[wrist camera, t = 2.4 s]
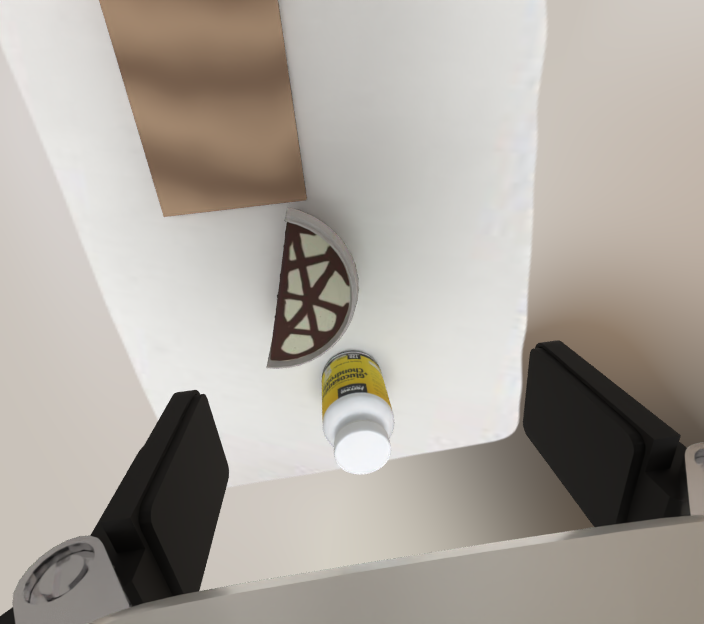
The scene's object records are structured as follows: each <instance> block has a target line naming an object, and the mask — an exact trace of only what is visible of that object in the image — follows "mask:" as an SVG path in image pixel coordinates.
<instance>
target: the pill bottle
mask: <svg viewBox="0 0 704 624" xmlns="http://www.w3.org/2000/svg"><path fill="white" fill-rule="evenodd" d="M322 418H323V431H324V435H325V437H326V439H327V441H328V442H329V443H330V444H331V445H332V446H333V447H334V455H335V460H336V462H337V464H338V465H339V466H340V467H341V468H342V469H343V470H345V471H347V472H350V473H353V474H367V473H371V472H374V471H376V470H378V469H380V468H381V467H382V466H384V464H385V463H386V462H387V461H388V459H389V457H390V453H391V445H390V441H389V438H390V436H391V435H392V432H393V429H394V416H393V412H392V408H391V405H390V401H389V398H388V394H387V391H386V387H385V384H384V380H383V377H382V373H381V370H380V367H379V366H378V364H377V363H376V361H375V360H374V359H373V358H371V357H370V356H368V355H366V354H364V353H361V352H345V353H342V354H339V355H337V356H335V357H334V358H333V359H331V360H330V361H329V362H328V364H327V365H326V367H325V368H324V371H323V374H322Z"/></svg>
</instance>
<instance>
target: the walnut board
mask: <svg viewBox="0 0 704 624" xmlns="http://www.w3.org/2000/svg"><path fill="white" fill-rule="evenodd" d="M99 2H100V5H101V8H102V12H103V15H104V18H105V22H106V25H107V28H108V32H109V35H110V38H111V42H112V45H113V48H114V52H115V55H116V58H117V62H118V65H119V69H120V72H121V75H122V79H123V82H124V85H125V89H126V92H127V95H128V99H129V102H130V105H131V109H132V112H133V115H134V119H135V122H136V125H137V129H138V132H139V135H140V139H141V142H142V145H143V149H144V152H145V155H146V159H147V162H148V166H149V169H150V172H151V176H152V179H153V182H154V186H155V189H156V192H157V196H158V199H159V202H160V206H161V209H162V212H163V216H164V217H167V216H175V215H184V214H193V213H201V212H210V211H218V210H227V209H235V208H244V207H252V206H261V205H269V204H278V203H286V202H295V201H303V200H306V199H307V197H306V190H305V183H304V176H303V169H302V162H301V155H300V148H299V142H298V135H297V128H296V121H295V114H294V107H293V100H292V93H291V87H290V80H289V73H288V66H287V59H286V52H285V45H284V38H283V32H282V25H281V18H280V11H279V4H278V0H99Z"/></svg>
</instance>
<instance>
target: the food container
mask: <svg viewBox="0 0 704 624" xmlns="http://www.w3.org/2000/svg"><path fill="white" fill-rule="evenodd" d="M285 222H287V225H286V231H285V243H284V251H283V259H282V267H281V274H280V284H279V291H278V295H277V298H278V299H277V308H276V315H275V322H274V329H273V337H272V343H271V348H270V353H269V358H268V363H267V368H274V369H279V368H290V367H294V366H299V365H302V364H305V363H307V362H310V361H312V360H314V359H316V358H318V357H319V356H321V355H322V354H324V353H325V352H326V351H328V350H329V349H330V348H332V347H333V346H334V345H335V344H336V343H337V342H338V341H339V340H340V338H341V337H342V336H343V334H344V333H345V331H346V330H347V328H348V326H349V324H350V322H351V320H352V317H353V314H354V311H355V307H356V304H357V299H358V291H359V287H358V275H357V270H356V266H355V263H354V261H353V258H352V256H351V253H350V252H349V250H348V248H347V247H346V245H345V243H344V242H343V241H342V240H341V238H340V237H339V236H338V235H337V234H336V233H335V232H334V231H333V230H332V229H331V228H330V227H329V226H327V225H326V224H325V223H323V222H322V221H320V220H319V219H317V218H315V217H314V216H312V215H310V214H307V213H305V212H303V211H300V210H296V209H293V208H289V207H288V208H287V212H286V217H285Z"/></svg>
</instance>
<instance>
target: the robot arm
mask: <svg viewBox="0 0 704 624" xmlns="http://www.w3.org/2000/svg"><path fill="white" fill-rule="evenodd" d="M523 427H524V430H525V432H526V435H527V436H528V438H529V439H530V440H531V442H532V443H533V444H534V446H535V447H536V448H537V450H538V451H539V452H540V454H541V455H542V456H543V458H544V459H545V461H546V462H547V463H548V465H549V466H550V467H551V469H552V470H553V471H554V473H555V474H556V476H557V477H558V478H559V480H560V481H561V482H562V484H563V485H564V486H565V488H566V489H567V490H568V492H569V493H570V495H571V496H572V497H573V499H574V500H575V501H576V503H577V504H578V505H579V507H580V508H581V509H582V511H583V512H584V514H585V515H586V516H587V518H588V519H589V520H590V522H591V523H592V524H593V526H594V527H593V528H587V529H580V530H574V531H568V532H561V533H554V534H547V535H541V536H534V537H528V538H521V539H514V540H508V541H502V542H495V543H488V544H482V545H476V546H469V547H463V548H457V549H450V550H444V551H438V552H431V553H425V554H419V555H413V556H406V557H400V558H394V559H387V560H381V561H375V562H368V563H362V564H356V565H350V566H344V567H338V568H332V569H326V570H320V571H314V572H308V573H301V574H296V575H290V576H284V577H277V578H271V579H266V580H259V581H253V582H248V583H242V584H237V585H231V586H226V587H220V588H215V589H209V590H204V591H199V590H200V586H201V582H202V578H203V574H204V571H205V567H206V563H207V559H208V555H209V552H210V548H211V544H212V540H213V536H214V532H215V528H216V524H217V521H218V517H219V513H220V509H221V505H222V502H223V498H224V494H225V490H226V486H227V482H228V478H229V467H228V463H227V460H226V457H225V454H224V450H223V447H222V444H221V441H220V438H219V434H218V431H217V428H216V425H215V422H214V419H213V415H212V412H211V409H210V406H209V403H208V399H207V397H206V395H205V394H200V393H199V392H198V391H197V390H192V391H184V392H177V393H174V395H173V396H172V398H171V399H170V401H169V403H168V405H167V406H166V408H165V410H164V412H163V413H162V415H161V417H160V419H159V420H158V422H157V424H156V426H155V428H154V429H153V431H152V433H151V434H150V437H149V438H148V440H147V441H146V443H145V445H144V447H142V448H141V450H140V451H139V452H138V454H137V456H136V458H135V459H134V461H133V463H132V464H131V466H130V468H129V470H128V471H127V473H126V475H125V477H124V478H123V480H122V482H121V484H120V485H119V487H118V489H117V490H116V492H115V494H114V496H113V497H112V499H111V501H110V503H109V504H108V506H107V508H106V509H105V511H104V513H103V515H102V516H101V518H100V520H99V522H98V523H97V525H96V527H95V528H94V530H93V532H92V534H91V535H90V536H79V537H76V538H73V539H70V540H67V541H65V542H63V543H61V544H59V545H57V546H55V547H53V548H52V549H51V550H49V551H48V552H46V553H45V554H44V555H42V556H41V557H40V558H39V559H38V560H37V561H36V562H35V563H34V564H33V565H32V566H30V567H29V568H28V570H27V571H26V572H25V574H24V575H23V576H22V578H21V579H20V580H19V582H18V585H17V587H16V589H15V591H14V595H13V607H12V608H11V609H10V610H8V611H7V612H5V613H4V614H3V615H1V616H0V624H704V443H697V444H693V445H691V446H690V447H688V448H686V447H685V446H684V445H683V444H681V443H680V442H679V439H680V434H678V433H677V432H676V431H674V430H673V429H672V428H671V427H669V426H668V425H667V424H666V423H664V422H663V421H662V420H660V419H659V418H658V417H657V416H655V415H654V414H653V413H652V412H650V411H649V410H647V409H646V408H645V407H644V406H643V405H641V404H640V403H639V402H638V401H636V400H635V399H634V398H632V397H631V396H630V395H628V394H627V393H626V392H625V391H624V390H622V389H621V388H620V387H618V386H617V385H616V384H614V383H613V382H612V381H611V380H609V379H608V378H607V377H606V376H604V375H603V374H602V373H601V372H599V371H598V370H597V369H596V368H594V367H593V366H592V365H591V364H589V363H588V362H587V361H585V360H584V359H583V358H581V357H580V356H579V355H578V354H576V353H575V352H574V351H573V350H571V349H570V348H569V347H568V346H566V345H565V344H564V343H563V342H561V341H550V342H543V343H538V344H537V345H536V347H535V349H532V350H531V352H530V359H529V369H528V378H527V388H526V398H525V408H524V418H523Z"/></svg>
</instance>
